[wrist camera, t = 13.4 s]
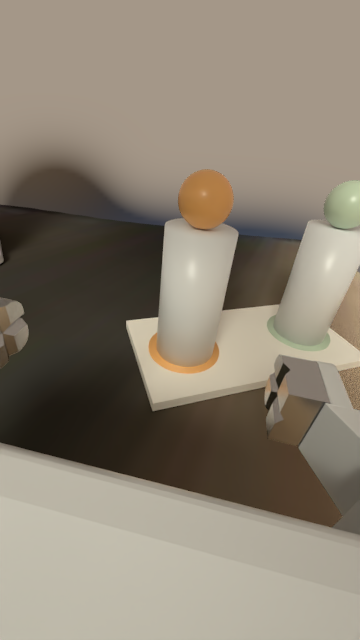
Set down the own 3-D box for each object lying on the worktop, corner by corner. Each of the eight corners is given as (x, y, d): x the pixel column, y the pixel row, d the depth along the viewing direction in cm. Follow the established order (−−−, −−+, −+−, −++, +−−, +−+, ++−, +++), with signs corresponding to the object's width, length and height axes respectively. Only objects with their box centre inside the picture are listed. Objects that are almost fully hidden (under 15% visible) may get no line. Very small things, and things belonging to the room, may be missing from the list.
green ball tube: (264, 319, 29) (310, 173, 21) (301, 314, 30) (356, 177, 23) (293, 349, 25) (362, 185, 18) (334, 342, 27) (413, 188, 19)
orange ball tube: (150, 333, 25) (159, 161, 18) (200, 327, 26) (227, 167, 19) (165, 371, 21) (185, 173, 14) (222, 361, 23) (267, 179, 15)
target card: (126, 327, 27) (126, 319, 26) (295, 308, 33) (297, 301, 33) (152, 411, 19) (153, 402, 19) (365, 365, 26) (370, 357, 25)
